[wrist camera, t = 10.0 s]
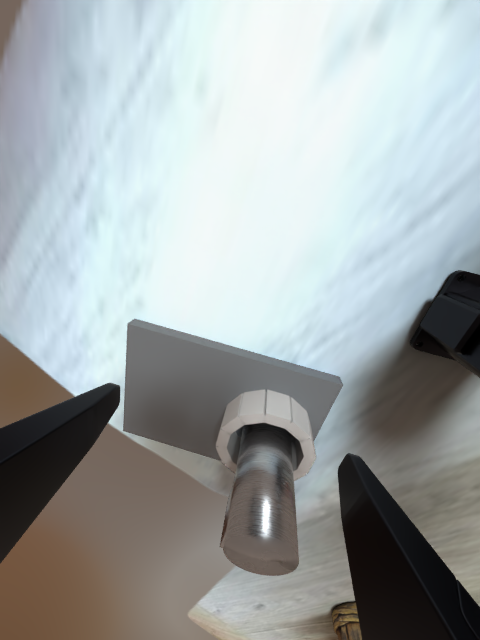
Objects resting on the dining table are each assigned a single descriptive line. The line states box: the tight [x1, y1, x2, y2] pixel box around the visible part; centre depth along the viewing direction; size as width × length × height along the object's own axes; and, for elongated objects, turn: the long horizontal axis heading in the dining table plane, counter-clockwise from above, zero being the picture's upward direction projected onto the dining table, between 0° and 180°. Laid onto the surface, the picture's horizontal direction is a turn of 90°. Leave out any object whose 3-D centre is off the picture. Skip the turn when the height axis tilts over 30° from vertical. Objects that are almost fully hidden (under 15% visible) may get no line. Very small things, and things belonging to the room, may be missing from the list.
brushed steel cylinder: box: [220, 423, 299, 576], centre depth 20 cm, size 9×5×10 cm, turn 167°
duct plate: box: [123, 319, 343, 481], centre depth 23 cm, size 20×14×4 cm
